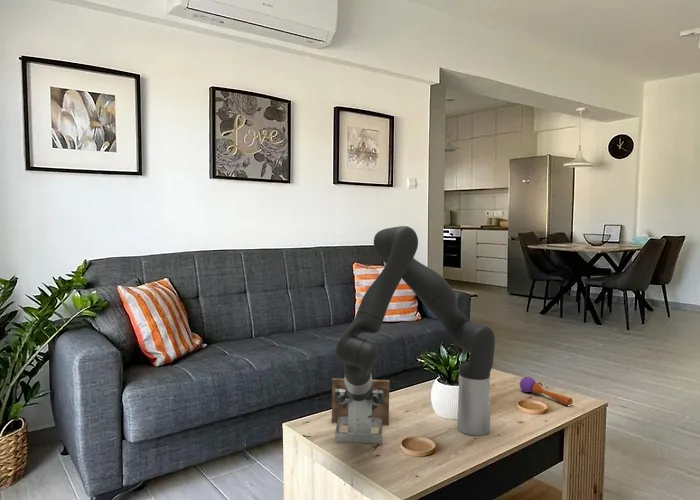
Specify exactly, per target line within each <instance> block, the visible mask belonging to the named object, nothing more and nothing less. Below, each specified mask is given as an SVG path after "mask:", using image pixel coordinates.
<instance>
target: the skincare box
mask: <svg viewBox="0 0 700 500" xmlns="http://www.w3.org/2000/svg"><path fill="white" fill-rule="evenodd" d="M371 419H372V404H368V403H367V402H365V401H352V402H350V403H349V406H348V425H347V433H369V434H372V426H371Z"/></svg>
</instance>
